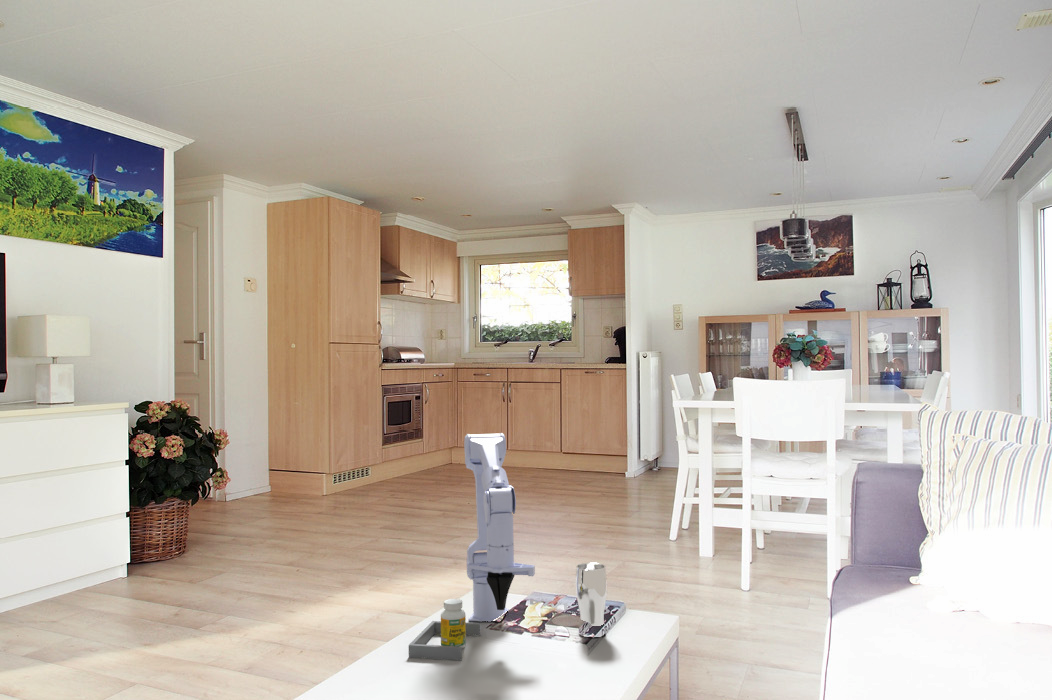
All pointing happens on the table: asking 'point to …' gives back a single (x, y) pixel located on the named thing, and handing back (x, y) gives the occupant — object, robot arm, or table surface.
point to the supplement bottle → (453, 624)
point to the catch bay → (437, 651)
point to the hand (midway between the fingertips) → (501, 608)
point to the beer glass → (591, 592)
